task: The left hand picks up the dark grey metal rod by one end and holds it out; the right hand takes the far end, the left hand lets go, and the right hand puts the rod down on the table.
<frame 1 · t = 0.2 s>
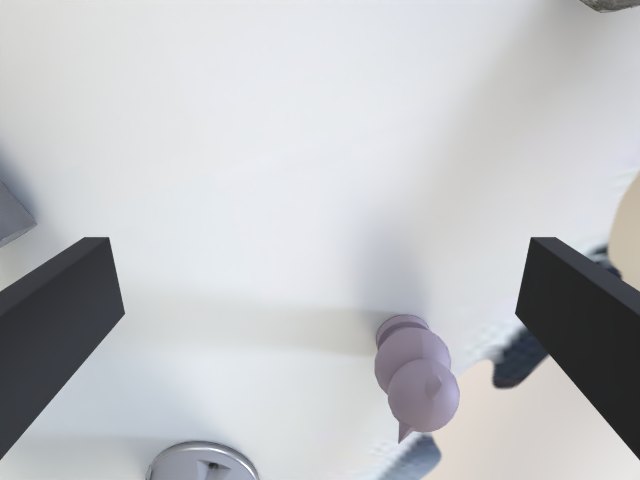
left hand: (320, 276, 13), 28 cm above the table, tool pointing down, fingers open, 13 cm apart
cat figurine: (403, 338, 47), on the table
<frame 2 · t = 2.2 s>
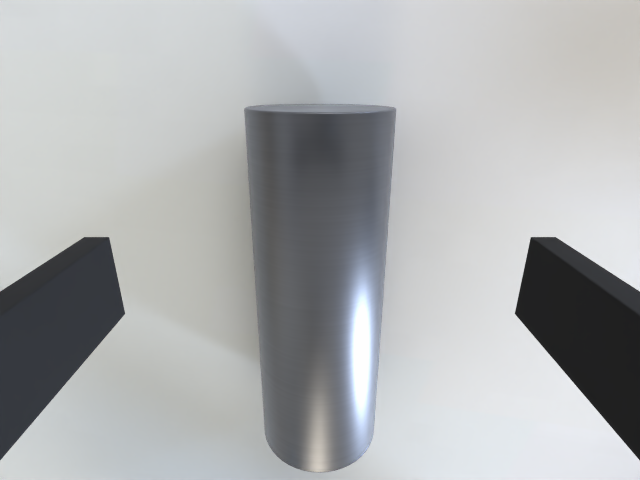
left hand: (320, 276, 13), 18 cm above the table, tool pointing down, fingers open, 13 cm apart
rod: (319, 264, 32), on the table
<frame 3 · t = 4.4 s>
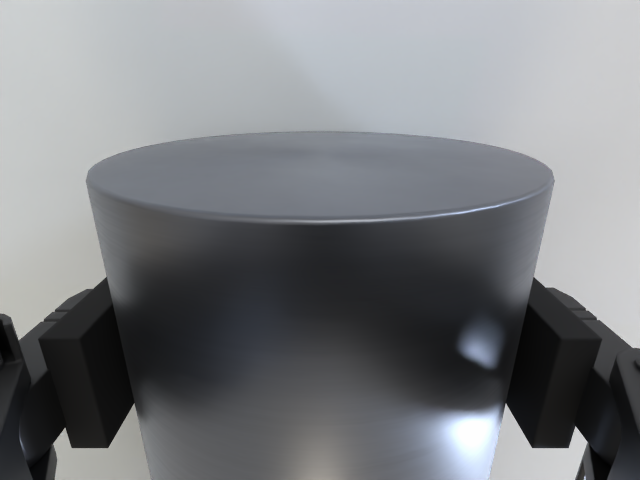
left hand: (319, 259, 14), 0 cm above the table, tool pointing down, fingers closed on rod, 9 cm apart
rod: (320, 423, 17), on the table, touching left hand
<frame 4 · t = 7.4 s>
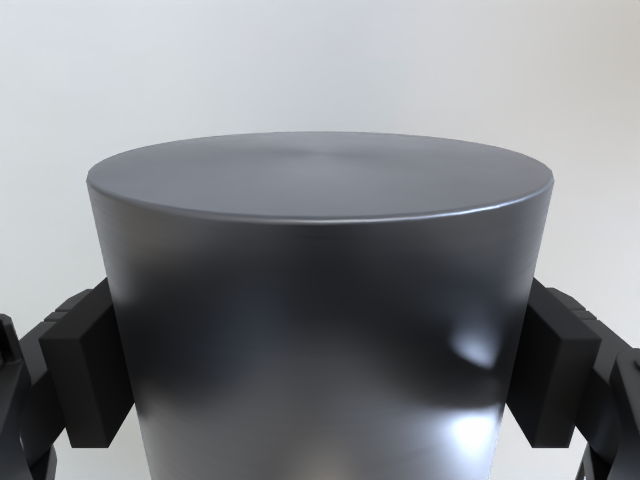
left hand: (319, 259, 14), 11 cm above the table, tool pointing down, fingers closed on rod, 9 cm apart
rod: (320, 423, 17), point 10 cm above the table, touching left hand
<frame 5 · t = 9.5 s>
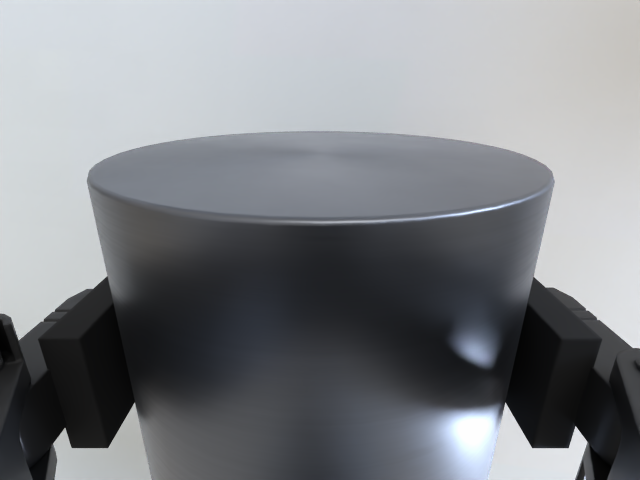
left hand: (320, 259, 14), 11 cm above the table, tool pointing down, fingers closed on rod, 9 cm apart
rod: (319, 423, 17), point 10 cm above the table, touching left hand, right hand
when the left hand's fingers open (11 cm above the table, at t = 10.5 s): rod stays where it is, held by the right hand.
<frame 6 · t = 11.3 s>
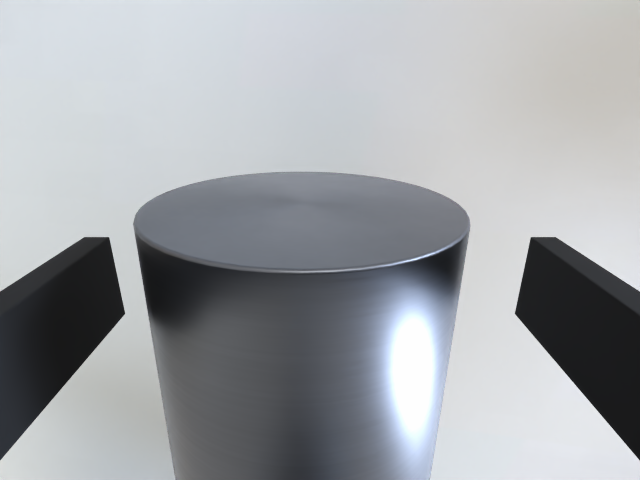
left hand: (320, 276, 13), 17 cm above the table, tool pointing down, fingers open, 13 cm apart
rod: (305, 416, 20), point 13 cm above the table, touching right hand
when the right hand's fingers open (2 cm above the table, at t = 15.1 s): rod drops 1 cm, on the table.
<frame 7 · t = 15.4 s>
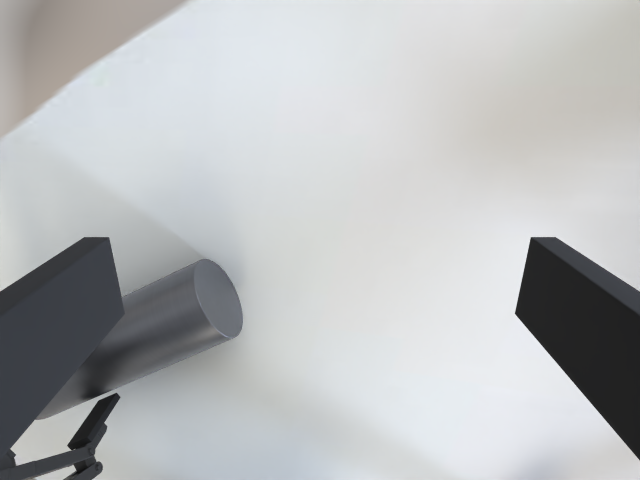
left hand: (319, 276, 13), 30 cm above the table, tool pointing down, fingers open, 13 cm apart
rod: (142, 318, 48), on the table
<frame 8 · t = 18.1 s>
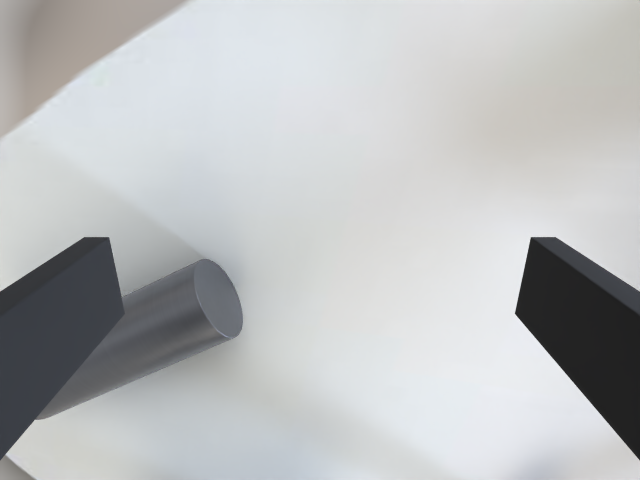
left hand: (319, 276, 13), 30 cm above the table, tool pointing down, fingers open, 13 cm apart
rod: (142, 318, 48), on the table
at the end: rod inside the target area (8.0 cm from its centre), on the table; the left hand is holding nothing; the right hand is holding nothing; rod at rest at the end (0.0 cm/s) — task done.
